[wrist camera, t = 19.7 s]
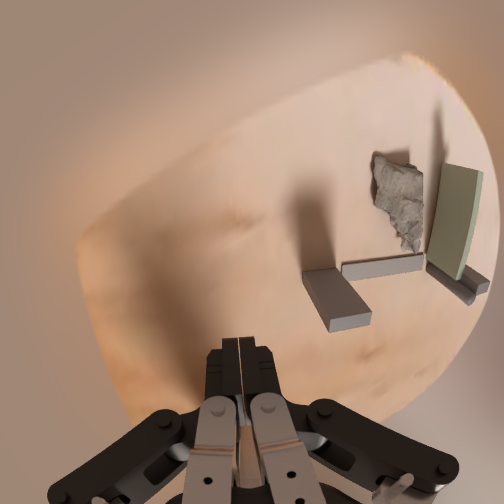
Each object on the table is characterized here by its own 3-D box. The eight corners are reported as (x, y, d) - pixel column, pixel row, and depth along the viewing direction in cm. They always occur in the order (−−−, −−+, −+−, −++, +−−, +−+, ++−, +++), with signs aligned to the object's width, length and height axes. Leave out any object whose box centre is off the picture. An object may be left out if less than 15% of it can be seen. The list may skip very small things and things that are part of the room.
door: (425, 258, 34) (455, 280, 28) (442, 162, 29) (478, 170, 22) (436, 258, 34) (465, 279, 28) (452, 165, 29) (488, 174, 23)
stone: (368, 250, 34) (384, 264, 30) (368, 155, 29) (387, 159, 25) (406, 243, 34) (424, 255, 30) (409, 154, 29) (430, 159, 25)
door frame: (444, 269, 36) (484, 300, 27) (302, 292, 34) (327, 343, 25) (448, 250, 35) (491, 278, 25) (303, 268, 33) (330, 315, 24)
